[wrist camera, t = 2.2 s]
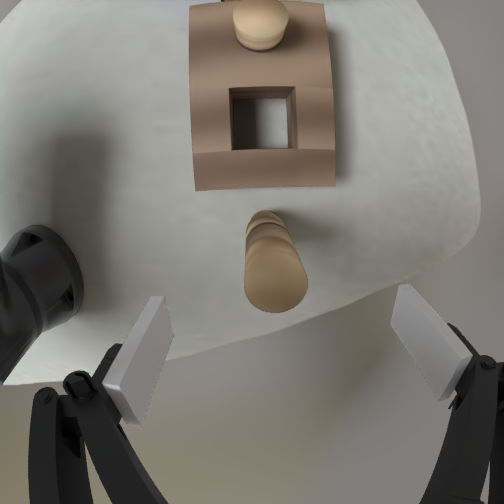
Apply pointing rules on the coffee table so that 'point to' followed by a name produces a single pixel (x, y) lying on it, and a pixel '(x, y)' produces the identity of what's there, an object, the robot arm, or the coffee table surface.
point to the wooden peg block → (261, 92)
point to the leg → (272, 265)
